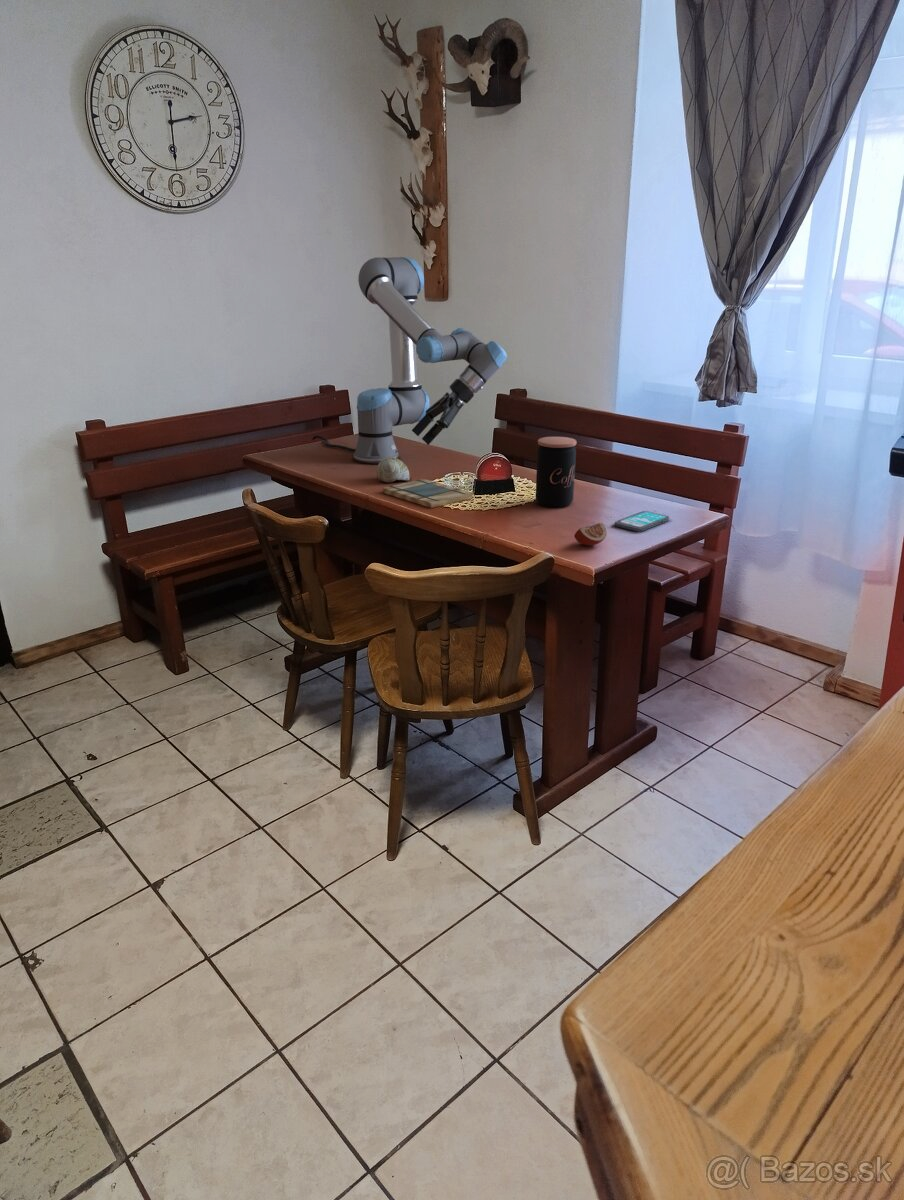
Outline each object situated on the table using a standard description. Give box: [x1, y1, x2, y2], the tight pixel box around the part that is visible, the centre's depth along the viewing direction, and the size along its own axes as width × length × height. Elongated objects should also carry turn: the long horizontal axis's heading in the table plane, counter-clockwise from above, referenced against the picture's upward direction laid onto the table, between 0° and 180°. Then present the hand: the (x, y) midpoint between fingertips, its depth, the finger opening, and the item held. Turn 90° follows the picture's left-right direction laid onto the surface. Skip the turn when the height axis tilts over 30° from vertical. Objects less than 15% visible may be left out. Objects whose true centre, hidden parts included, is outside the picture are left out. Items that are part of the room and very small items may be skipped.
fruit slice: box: [573, 522, 608, 546], centre depth 197 cm, size 8×7×5 cm
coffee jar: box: [535, 436, 578, 509], centre depth 228 cm, size 11×11×18 cm
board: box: [382, 478, 474, 509], centre depth 239 cm, size 22×16×2 cm
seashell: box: [376, 458, 411, 484], centre depth 254 cm, size 10×10×10 cm
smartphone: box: [614, 510, 670, 532], centre depth 214 cm, size 9×1×15 cm
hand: (419, 437), depth 252 cm, fingers open, 13 cm apart
